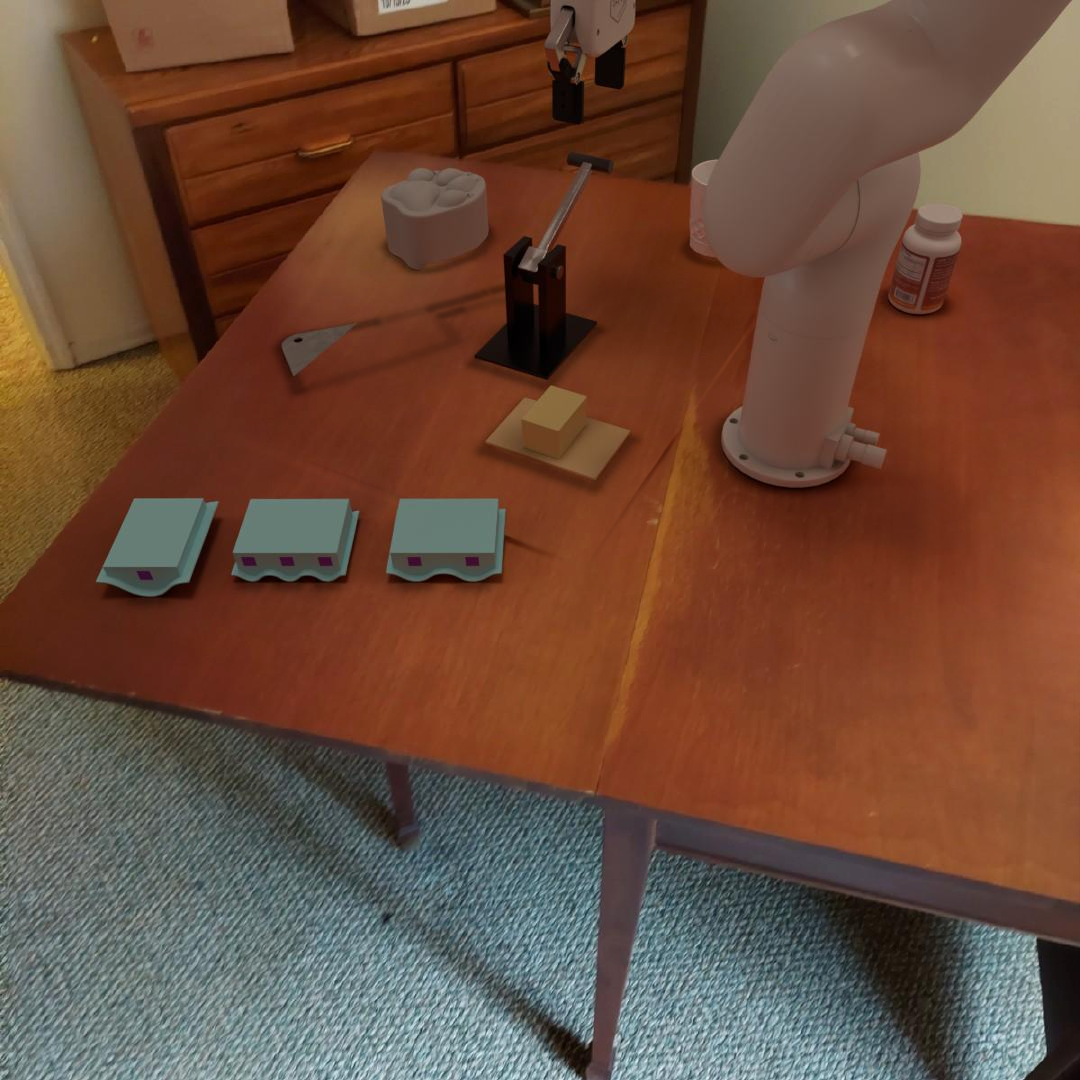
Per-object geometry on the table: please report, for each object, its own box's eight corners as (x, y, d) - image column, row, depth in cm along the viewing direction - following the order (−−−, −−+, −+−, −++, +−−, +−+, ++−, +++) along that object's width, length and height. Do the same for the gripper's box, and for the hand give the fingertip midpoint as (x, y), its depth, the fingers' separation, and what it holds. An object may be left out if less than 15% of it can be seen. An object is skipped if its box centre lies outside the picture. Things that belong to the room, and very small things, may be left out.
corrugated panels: (139, 516, 89) (103, 596, 82) (129, 492, 87) (91, 573, 80) (506, 515, 88) (501, 597, 81) (504, 492, 86) (499, 573, 79)
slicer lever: (574, 161, 105) (570, 144, 103) (615, 169, 103) (612, 153, 101) (511, 278, 101) (505, 264, 99) (553, 289, 99) (548, 275, 97)
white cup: (685, 233, 124) (692, 157, 117) (747, 236, 123) (758, 160, 116) (683, 264, 119) (690, 186, 111) (747, 267, 118) (759, 189, 111)
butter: (551, 413, 96) (550, 384, 94) (586, 424, 95) (587, 396, 93) (522, 447, 93) (521, 418, 90) (558, 459, 91) (558, 431, 89)
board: (630, 439, 95) (630, 430, 94) (594, 488, 90) (595, 478, 89) (524, 406, 99) (524, 396, 98) (485, 450, 94) (484, 441, 94)
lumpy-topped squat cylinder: (379, 243, 124) (369, 178, 118) (462, 213, 129) (457, 150, 123) (421, 276, 118) (413, 209, 112) (507, 243, 123) (504, 178, 117)
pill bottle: (939, 290, 113) (967, 201, 105) (944, 318, 109) (974, 227, 101) (885, 286, 114) (908, 197, 106) (888, 313, 110) (913, 223, 102)
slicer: (527, 310, 112) (524, 216, 103) (597, 330, 109) (599, 234, 100) (474, 364, 105) (467, 267, 96) (547, 386, 101) (545, 288, 93)
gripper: (589, -63, 79) (585, 143, 91) (669, -110, 90) (655, 80, 102) (510, -73, 81) (516, 128, 94) (597, -118, 92) (592, 68, 104)
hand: (589, 103), depth 98 cm, fingers open, 9 cm apart
